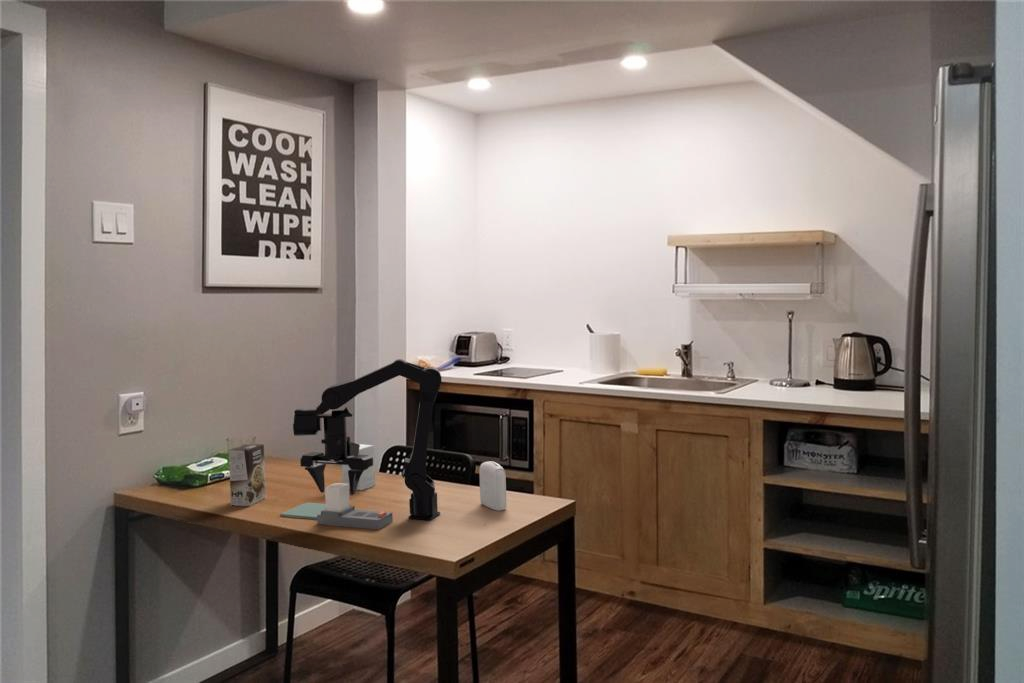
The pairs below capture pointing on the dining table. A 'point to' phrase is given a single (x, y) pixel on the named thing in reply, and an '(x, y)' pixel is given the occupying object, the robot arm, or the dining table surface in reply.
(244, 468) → the coffee box
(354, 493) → the robot arm
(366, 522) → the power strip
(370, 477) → the supplement box
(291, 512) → the rubber mat
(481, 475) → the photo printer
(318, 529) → the dining table surface
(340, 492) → the charger
